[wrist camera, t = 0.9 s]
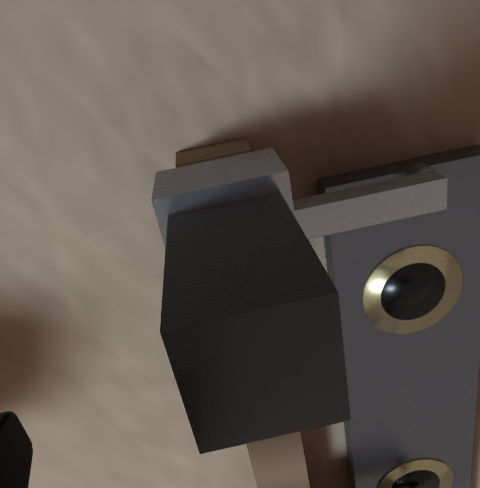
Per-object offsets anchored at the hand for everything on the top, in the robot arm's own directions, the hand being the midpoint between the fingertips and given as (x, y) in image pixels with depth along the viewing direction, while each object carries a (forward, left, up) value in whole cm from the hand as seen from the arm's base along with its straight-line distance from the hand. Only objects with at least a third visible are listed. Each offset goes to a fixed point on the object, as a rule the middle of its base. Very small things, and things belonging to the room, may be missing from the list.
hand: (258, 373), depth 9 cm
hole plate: (-11, -7, -9) cm, 16 cm away
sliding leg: (0, -3, -7) cm, 8 cm away
